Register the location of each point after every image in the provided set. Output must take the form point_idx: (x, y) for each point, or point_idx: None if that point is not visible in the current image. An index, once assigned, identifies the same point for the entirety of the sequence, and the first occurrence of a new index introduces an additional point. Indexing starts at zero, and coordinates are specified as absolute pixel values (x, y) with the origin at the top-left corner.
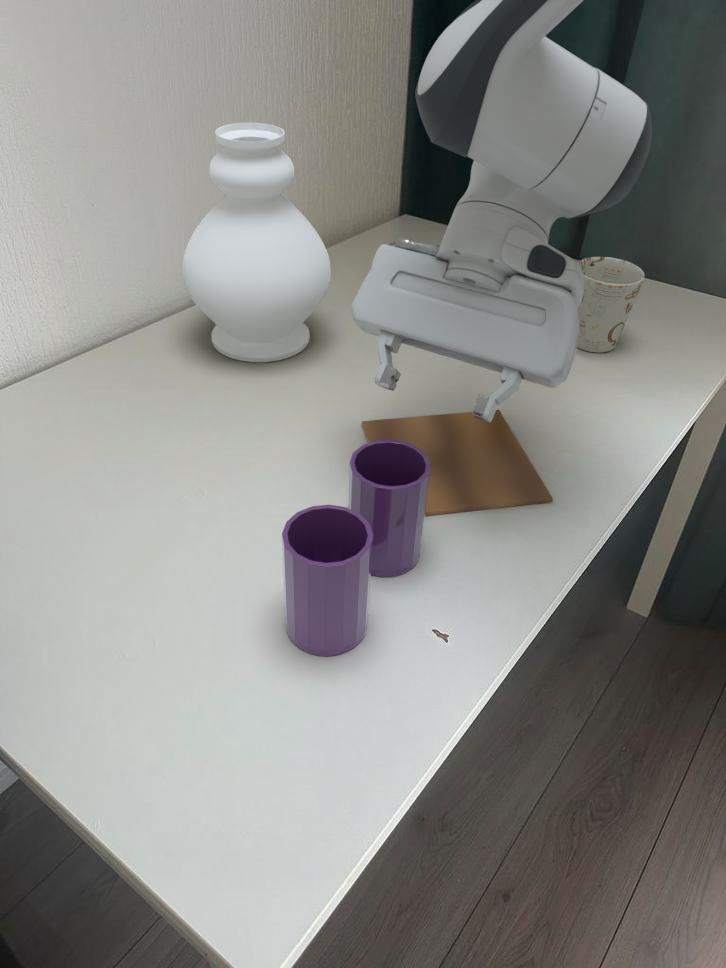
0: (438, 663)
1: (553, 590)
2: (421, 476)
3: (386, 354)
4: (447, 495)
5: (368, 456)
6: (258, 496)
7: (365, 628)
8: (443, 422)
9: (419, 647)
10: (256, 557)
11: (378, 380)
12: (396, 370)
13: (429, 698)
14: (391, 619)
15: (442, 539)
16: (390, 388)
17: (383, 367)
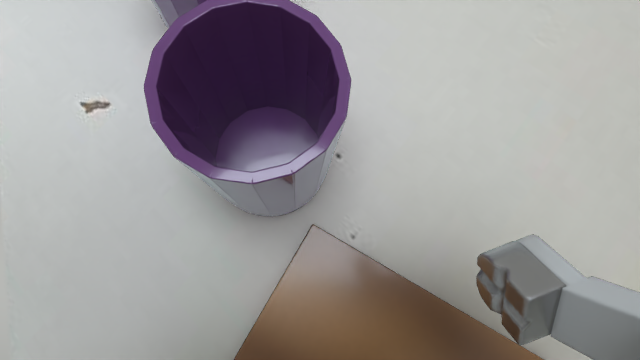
0: (66, 69)
1: (14, 307)
2: (156, 102)
3: (619, 314)
4: (292, 341)
5: (334, 105)
6: (490, 95)
7: (164, 23)
8: None
9: (103, 70)
10: (379, 17)
11: (524, 240)
12: (523, 309)
13: (41, 24)
14: None
15: (224, 252)
16: (477, 263)
17: (563, 274)
